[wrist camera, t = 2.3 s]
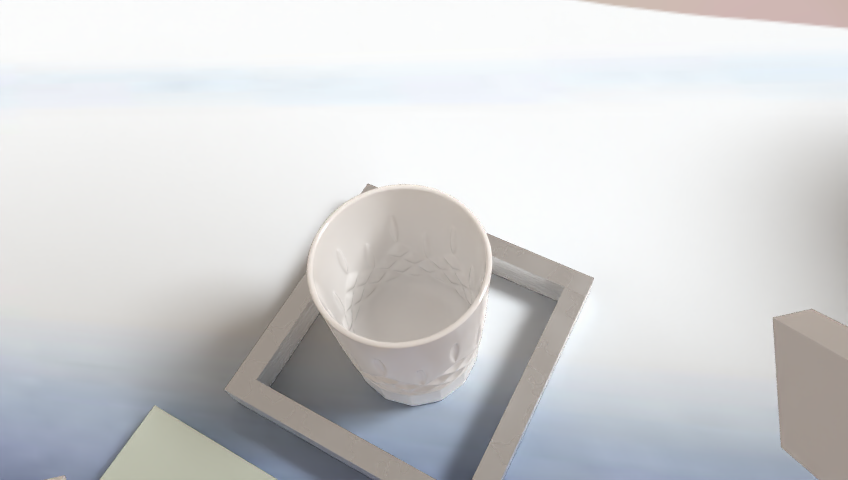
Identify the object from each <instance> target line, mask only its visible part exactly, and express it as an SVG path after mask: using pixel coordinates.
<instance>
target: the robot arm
mask: <svg viewBox="0 0 848 480" xmlns="http://www.w3.org/2000/svg"><path fill="white" fill-rule="evenodd" d="M773 330H774V345H775V361H776V377H777V393H778V409H779V424H780V440H781V448H783V449H784V450H785V451H786V452H787V453H788V454H790V455H791V456H792V457H793V458H794V459H795V460H796V461H798V462H799V463H800V464H801V465H802V466H803V467H805V468H806V469H807V470H808V471H809V472H810V473H812V474H813V475H814V476H815V477H816V478H817V479H819V480H848V327H847V326H845V325H843V324H841V323H839V322H837V321H835V320H833V319H831V318H829V317H827V316H825V315H823V314H821V313H819V312H817V311H815V310H813V309H809V310H805V311H800V312H796V313H791V314H787V315H782V316H778V317H773ZM46 480H66V477H65V475H64V476H59V477H55V478H50V479H46Z"/></svg>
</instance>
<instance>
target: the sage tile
mask: <svg viewBox="0 0 848 480" xmlns="http://www.w3.org/2000/svg"><path fill="white" fill-rule="evenodd" d="M100 480H277V479H276V478H274V477H272V476H271V475H269V474H268V473H266V472H264V471H263V470H261V469H259V468H258V467H256V466H254V465H253V464H251V463H249V462H248V461H246V460H244V459H243V458H241V457H239V456H238V455H236V454H234V453H233V452H231V451H229V450H228V449H226V448H224V447H223V446H221V445H220V444H218V443H216V442H215V441H213V440H211V439H210V438H208V437H206V436H205V435H203V434H201V433H200V432H198V431H196V430H195V429H193V428H191V427H190V426H188V425H186V424H185V423H183V422H181V421H180V420H178V419H177V418H175V417H173V416H172V415H170V414H168V413H167V412H165V411H163V410H162V409H160V408H158V407H157V406H154V407H153V408H152V410H151V411H150V412H149V414H148V415H147V416H146V418H145V419H144V420H143V422H142V423H141V424H140V426H139V427H138V429H137V430H136V431H135V433H134V434H133V435H132V437H131V438H130V439H129V441H128V442H127V443H126V445H125V446H124V447H123V449H122V450H121V451H120V453H119V454H118V456H117V457H116V458H115V460H114V461H113V462H112V464H111V465H110V466H109V468H108V469H107V470H106V472H105V473H104V474H103V476H102V477H101V478H100Z"/></svg>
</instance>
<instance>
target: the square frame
mask: <svg viewBox="0 0 848 480" xmlns="http://www.w3.org/2000/svg"><path fill="white" fill-rule="evenodd" d="M375 188H377V187H375V186H373V185H370V184H367V185H366V187H365V188H364V190H363V191H362V193H364V192H366V191H369V190H372V189H375ZM362 193H361V194H362ZM486 234H487V233H486ZM487 236H488V239H489V242H490V246H491V251H492V273H494V274H496V275H498V276H500V277H503V278H505V279H507V280H510V281H512V282H514V283H516V284H519V285H521V286H523V287H526V288H528V289H530V290H532V291H535V292H537V293H539V294H542V295H544V296H546V297H548V298H551V299H553V300H555V301H558V302H557V304H556V306H555V308H554V310H553V312H552V314H551V317H550V319H549V321H548V323H547V325H546V327H545V329H544V331H543V333H542V335H541V337H540V339H539V341H538V343H537V346H536V348H535V350H534V352H533V354H532V356H531V358H530V360H529V362H528V364H527V366H526V368H525V370H524V372H523V375H522V377H521V379H520V381H519V383H518V385H517V387H516V389H515V391H514V393H513V395H512V397H511V399H510V402H509V404H508V406H507V408H506V410H505V412H504V414H503V416H502V418H501V420H500V422H499V424H498V426H497V428H496V431H495V433H494V435H493V437H492V439H491V441H490V443H489V445H488V447H487V449H486V451H485V453H484V455H483V457H482V460H481V462H480V464H479V466H478V468H477V470H476V472H475V474H474V476H473V478H472V480H503V479H504V477H505V475H506V473H507V470H508V468H509V466H510V464H511V462H512V460H513V457H514V455H515V453H516V451H517V449H518V447H519V444H520V442H521V440H522V438H523V436H524V434H525V431H526V429H527V427H528V425H529V423H530V421H531V418H532V416H533V414H534V412H535V410H536V408H537V405H538V403H539V401H540V399H541V397H542V395H543V392H544V390H545V388H546V386H547V384H548V381H549V379H550V377H551V375H552V373H553V371H554V368H555V366H556V364H557V362H558V360H559V358H560V355H561V353H562V351H563V349H564V347H565V345H566V342H567V340H568V338H569V336H570V334H571V332H572V329H573V327H574V325H575V323H576V321H577V319H578V316H579V314H580V312H581V310H582V308H583V306H584V303H585V301H586V299H587V297H588V295H589V292H590V289H591V286H592V283H593V280H594V278H593V277H590V276H588V275H585V274H583V273H581V272H578V271H576V270H573V269H571V268H569V267H566V266H564V265H561V264H559V263H557V262H554V261H552V260H550V259H547V258H545V257H542V256H540V255H538V254H535V253H533V252H530V251H528V250H526V249H523V248H521V247H518V246H516V245H514V244H511V243H509V242H507V241H504V240H502V239H499V238H497V237H495V236H492V235H490V234H487ZM319 313H320V312H319V310H318V309H317V307H316V305H315V303H314V301H313V299H312V297H311V294H310V291H309V287H308V281H307V271H306V273H305V274H304V276H303V277H302V279H301V280H300V281H299V283H298V284H297V286H296V287H295V289H294V290H293V292H292V293H291V294H290V296H289V297H288V299H287V300H286V302H285V303H284V304H283V306H282V307H281V309H280V310H279V312H278V313H277V314H276V316H275V317H274V319H273V320H272V322H271V323H270V324H269V326H268V327H267V329H266V330H265V332H264V333H263V335H262V336H261V337H260V339H259V340H258V342H257V343H256V345H255V346H254V347H253V349H252V350H251V352H250V353H249V355H248V356H247V357H246V359H245V360H244V362H243V363H242V365H241V366H240V367H239V369H238V370H237V372H236V373H235V375H234V376H233V377H232V379H231V380H230V382H229V383H228V385H227V386H226V388H225V389H224V390H225V391H226V392H227V393H228V394H229V395H230V396H231V397H232V398H233V399H234V400H236V401H237V402H239V403H240V404H242V405H244V406H246V407H247V408H249V409H251V410H253V411H254V412H256V413H258V414H259V415H261V416H263V417H265V418H266V419H268V420H270V421H272V422H273V423H275V424H277V425H279V426H280V427H282V428H284V429H286V430H287V431H289V432H291V433H293V434H294V435H296V436H298V437H300V438H301V439H303V440H305V441H307V442H308V443H310V444H312V445H313V446H315V447H317V448H319V449H320V450H322V451H324V452H326V453H327V454H329V455H331V456H333V457H334V458H336V459H338V460H340V461H341V462H343V463H345V464H347V465H348V466H350V467H352V468H354V469H355V470H357V471H359V472H361V473H362V474H364V475H366V476H368V477H369V478H371V479H373V480H436V479H434V478H432V477H430V476H429V475H427V474H425V473H423V472H421V471H420V470H418V469H416V468H414V467H412V466H411V465H409V464H407V463H405V462H403V461H402V460H400V459H398V458H396V457H394V456H393V455H391V454H389V453H387V452H385V451H384V450H382V449H380V448H378V447H376V446H375V445H373V444H371V443H369V442H367V441H366V440H364V439H362V438H360V437H358V436H357V435H355V434H353V433H351V432H349V431H348V430H346V429H344V428H342V427H340V426H339V425H337V424H335V423H333V422H331V421H330V420H328V419H326V418H324V417H322V416H321V415H319V414H317V413H315V412H313V411H312V410H310V409H308V408H306V407H304V406H303V405H301V404H299V403H297V402H295V401H293V400H292V399H290V398H288V397H286V396H284V395H283V394H281V393H279V392H277V391H275V390H274V389H272V388H270V387H271V385H272V384H273V382H274V381H275V379H276V378H277V376H278V375H279V373H280V372H281V370H282V369H283V367H284V366H285V364H286V363H287V361H288V360H289V358H290V357H291V355H292V354H293V352H294V350H295V349H296V347H297V346H298V344H299V343H300V341H301V340H302V338H303V337H304V335H305V334H306V332H307V331H308V329H309V328H310V326H311V325H312V323H313V322H314V320H315V319H316V317H317V316H318V314H319Z"/></svg>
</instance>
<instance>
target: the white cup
mask: <svg viewBox="0 0 848 480" xmlns="http://www.w3.org/2000/svg"><path fill="white" fill-rule="evenodd" d="M491 273H492V251H491V246H490V242H489V239H488V236H487V234H486V232H485V229H484V228H483V226H482V224H481V223H480V221H479V220H478V218H477V217H476V216H475V215H474V213H473V212H472V211H471V210H470V209H469V208H468V207H467V206H465V205H464V204H463V203H462V202H460V201H459V200H457V199H456V198H454V197H452V196H451V195H449V194H447V193H444V192H442V191H439V190H437V189H434V188H430V187H426V186H420V185H410V184H399V185H389V186H384V187H379V188H375V189H372V190H369V191H366V192H364V193H362V194H359V195H357V196H355V197H354V198H352V199H350V200H348V201H347V202H345V203H344V204H343V205H341V206H340V207H339V208H337V209H336V210H335V211H334V212H333V213H332V214H331V215H330V216H329V217H328V218H327V219H326V221H325V222H324V223H323V225H322V226H321V227H320V229H319V230H318V232H317V234H316V236H315V238H314V240H313V242H312V245H311V248H310V251H309V255H308V261H307V281H308V287H309V291H310V294H311V297H312V299H313V301H314V303H315V305H316V307H317V309H318V310H319V312H320V314H321V315H322V317H323V318H324V320H325V321H326V323H327V325H328V326H329V328H330V330H331V331H332V333H333V335H334V336H335V338H336V339H337V341H338V343H339V344H340V346H341V347H342V349H343V350H344V352H345V353H346V355H347V356H348V357H349V359H350V360H351V362H352V363H353V365H354V366H355V367H356V368H357V370H358V371H359V372H360V373H361V374H362V376H363V378H364V380H365V381H366V382H367V383H368V384H369V385H370V386H372V387H373V388H374V389H375V390H376V391H377V392H378V393H380V394H381V395H382V396H383V397H384V398H385V399H388V400H392V401H395V402H399V403H403V404H407V405H411V406H416V405H422V404H427V403H432V402H437V401H441V400H443V399H444V398H446V397H447V396H448V395H450V394H451V393H452V392H454V391H455V390H456V389H458V388H459V387H460V386H462V385H463V384H464V383H465V381H466V379H467V377H468V375H469V373H470V372H471V370H472V368H473V366H474V364H475V362H476V360H477V354H478V347H479V344H480V341H481V338H482V332H483V326H484V322H485V316H486V310H487V302H488V294H489V286H490V279H491Z"/></svg>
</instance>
